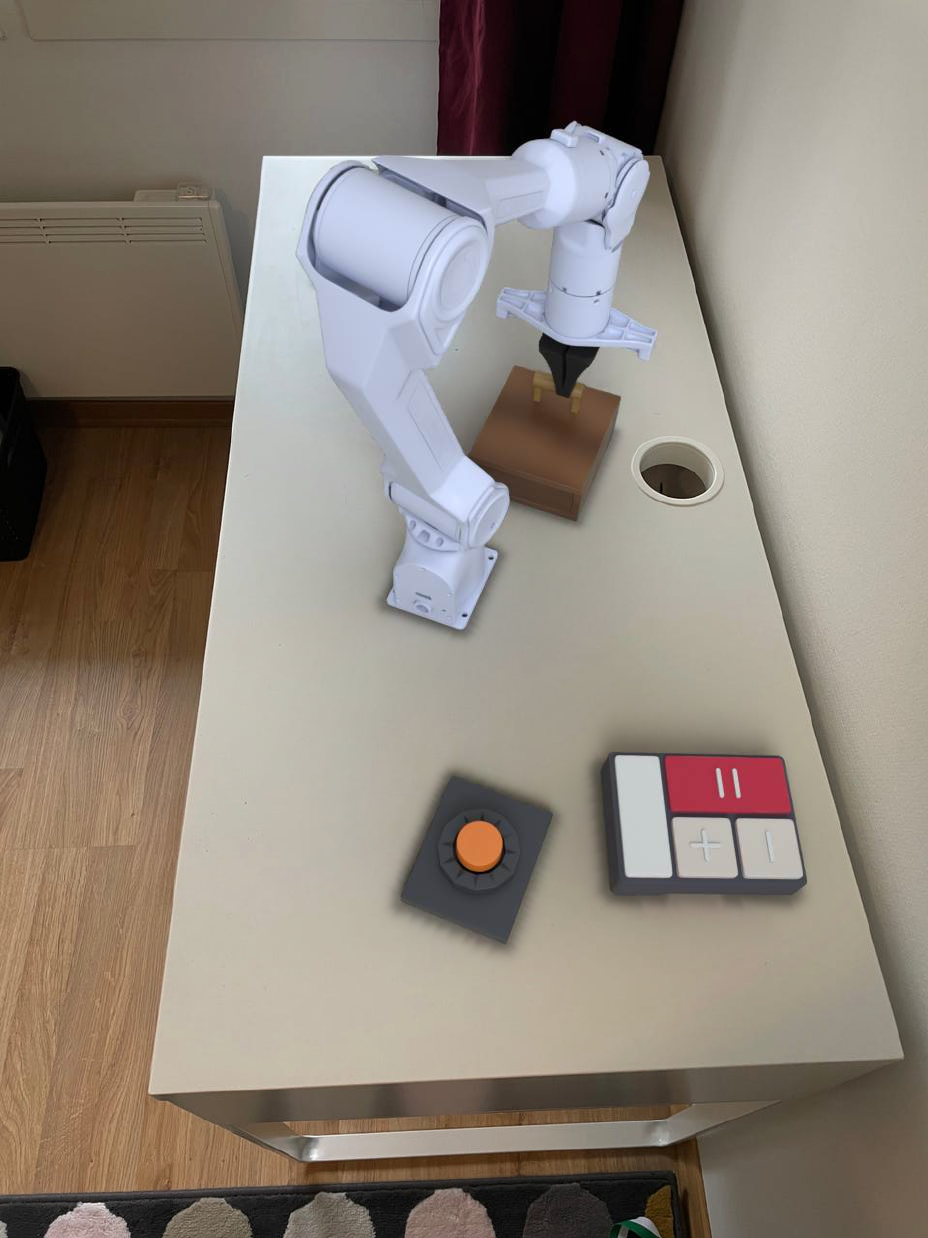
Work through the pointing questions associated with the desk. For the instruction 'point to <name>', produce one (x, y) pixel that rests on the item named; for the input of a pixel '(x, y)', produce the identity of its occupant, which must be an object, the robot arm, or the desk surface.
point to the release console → (470, 894)
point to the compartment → (547, 495)
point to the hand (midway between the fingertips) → (565, 389)
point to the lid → (545, 430)
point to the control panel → (700, 824)
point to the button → (479, 846)
